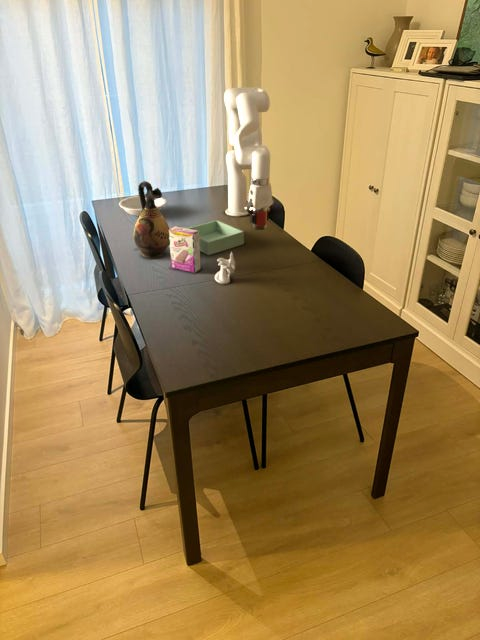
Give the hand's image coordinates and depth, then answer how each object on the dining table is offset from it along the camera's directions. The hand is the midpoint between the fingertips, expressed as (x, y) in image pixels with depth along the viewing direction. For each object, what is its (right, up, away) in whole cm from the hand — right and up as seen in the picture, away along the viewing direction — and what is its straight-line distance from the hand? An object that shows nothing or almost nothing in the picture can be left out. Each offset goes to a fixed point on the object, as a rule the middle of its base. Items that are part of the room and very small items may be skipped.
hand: (259, 221), depth 215 cm
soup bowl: (-58, +11, +37) cm, 69 cm away
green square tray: (-20, -9, +4) cm, 23 cm away
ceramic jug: (-46, -15, -6) cm, 48 cm away
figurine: (-13, -29, -30) cm, 44 cm away
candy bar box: (-30, -23, -19) cm, 42 cm away
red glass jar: (0, -2, +1) cm, 3 cm away
